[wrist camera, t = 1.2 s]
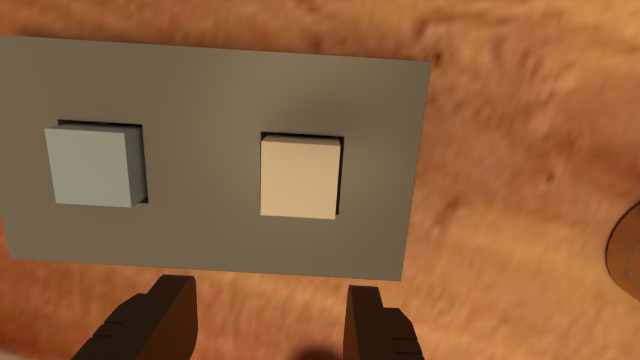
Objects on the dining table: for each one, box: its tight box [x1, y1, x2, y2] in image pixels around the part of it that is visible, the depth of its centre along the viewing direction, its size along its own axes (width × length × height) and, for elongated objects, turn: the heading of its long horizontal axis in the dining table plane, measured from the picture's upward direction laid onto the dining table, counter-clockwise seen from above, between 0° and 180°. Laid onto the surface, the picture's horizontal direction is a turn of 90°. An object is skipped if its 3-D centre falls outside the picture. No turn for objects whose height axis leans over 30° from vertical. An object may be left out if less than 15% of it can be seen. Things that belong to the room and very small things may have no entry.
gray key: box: [44, 123, 148, 207], centre depth 22 cm, size 4×4×2 cm
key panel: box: [0, 35, 431, 281], centre depth 24 cm, size 26×14×4 cm, turn 87°
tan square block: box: [260, 134, 340, 219], centre depth 22 cm, size 4×4×2 cm
